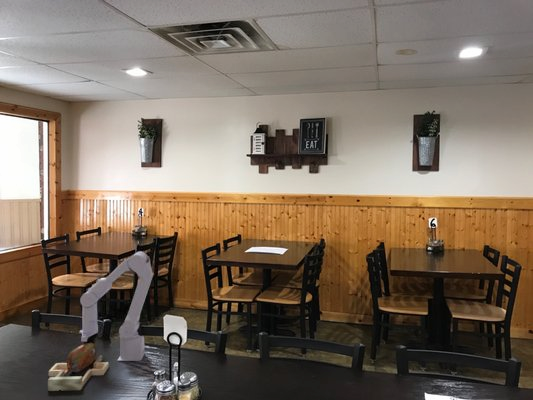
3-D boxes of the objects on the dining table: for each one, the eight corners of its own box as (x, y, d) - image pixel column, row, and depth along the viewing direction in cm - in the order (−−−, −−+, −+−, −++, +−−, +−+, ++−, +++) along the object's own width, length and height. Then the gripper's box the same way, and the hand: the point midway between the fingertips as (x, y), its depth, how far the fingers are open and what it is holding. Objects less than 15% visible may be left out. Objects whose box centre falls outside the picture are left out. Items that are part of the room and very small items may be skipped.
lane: (102, 360, 177) (102, 350, 177) (80, 390, 152) (80, 378, 152) (74, 360, 177) (74, 350, 176) (47, 390, 151) (47, 379, 151)
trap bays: (108, 367, 171) (108, 362, 171) (103, 375, 164) (103, 369, 164) (56, 368, 169) (56, 363, 169) (48, 376, 162) (48, 371, 162)
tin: (72, 376, 163) (72, 354, 162) (65, 375, 163) (64, 353, 163) (97, 360, 177) (97, 339, 177) (90, 359, 178) (90, 339, 178)
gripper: (85, 314, 185) (86, 346, 186) (73, 326, 171) (73, 359, 171) (102, 314, 186) (103, 345, 186) (91, 326, 171) (91, 359, 172)
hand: (90, 352), depth 179 cm, fingers closed
